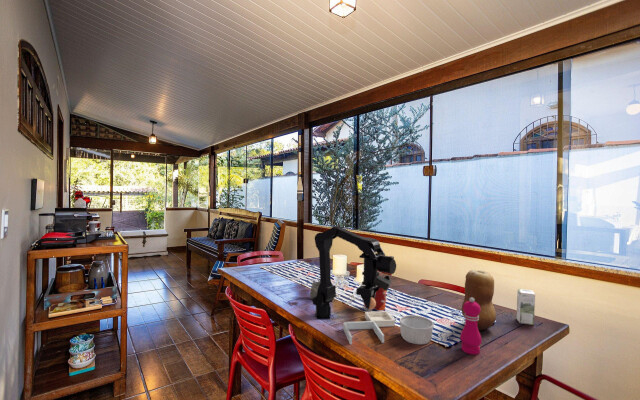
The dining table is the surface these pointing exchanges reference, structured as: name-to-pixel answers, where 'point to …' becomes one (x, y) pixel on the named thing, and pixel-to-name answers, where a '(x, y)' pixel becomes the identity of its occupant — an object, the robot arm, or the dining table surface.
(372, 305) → the ball
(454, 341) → the dining table surface
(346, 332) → the white c-shaped bracket
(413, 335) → the ramekin
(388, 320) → the dish
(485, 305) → the butternut squash
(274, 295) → the dining table surface
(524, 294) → the syrup box
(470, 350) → the pepper mill
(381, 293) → the paper cup
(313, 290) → the mineral rock
